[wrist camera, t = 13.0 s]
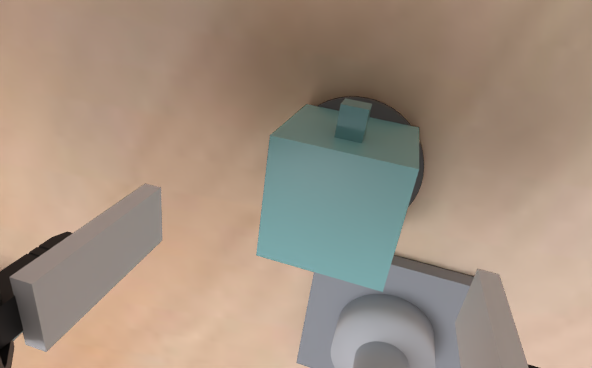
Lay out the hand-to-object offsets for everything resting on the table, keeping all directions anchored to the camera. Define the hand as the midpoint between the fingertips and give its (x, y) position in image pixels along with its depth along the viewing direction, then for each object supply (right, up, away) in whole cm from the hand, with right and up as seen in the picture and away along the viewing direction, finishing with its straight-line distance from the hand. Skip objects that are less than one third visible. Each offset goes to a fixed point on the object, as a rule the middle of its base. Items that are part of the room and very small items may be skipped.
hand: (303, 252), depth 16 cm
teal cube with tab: (+3, +4, +10) cm, 11 cm away
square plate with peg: (+7, -8, +14) cm, 18 cm away
